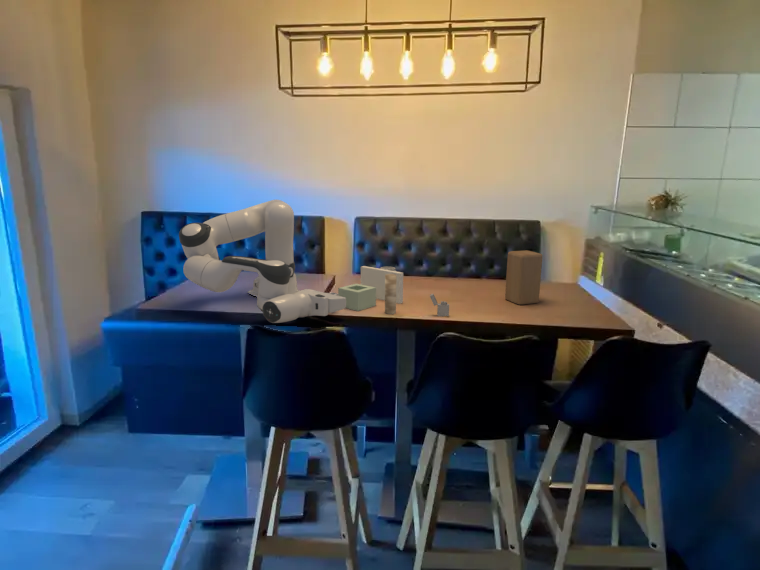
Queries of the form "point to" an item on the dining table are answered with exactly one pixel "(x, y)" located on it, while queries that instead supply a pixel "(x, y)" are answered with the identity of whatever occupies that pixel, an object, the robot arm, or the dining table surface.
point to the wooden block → (523, 277)
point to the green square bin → (358, 296)
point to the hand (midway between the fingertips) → (336, 295)
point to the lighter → (440, 306)
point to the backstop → (381, 281)
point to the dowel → (390, 293)
